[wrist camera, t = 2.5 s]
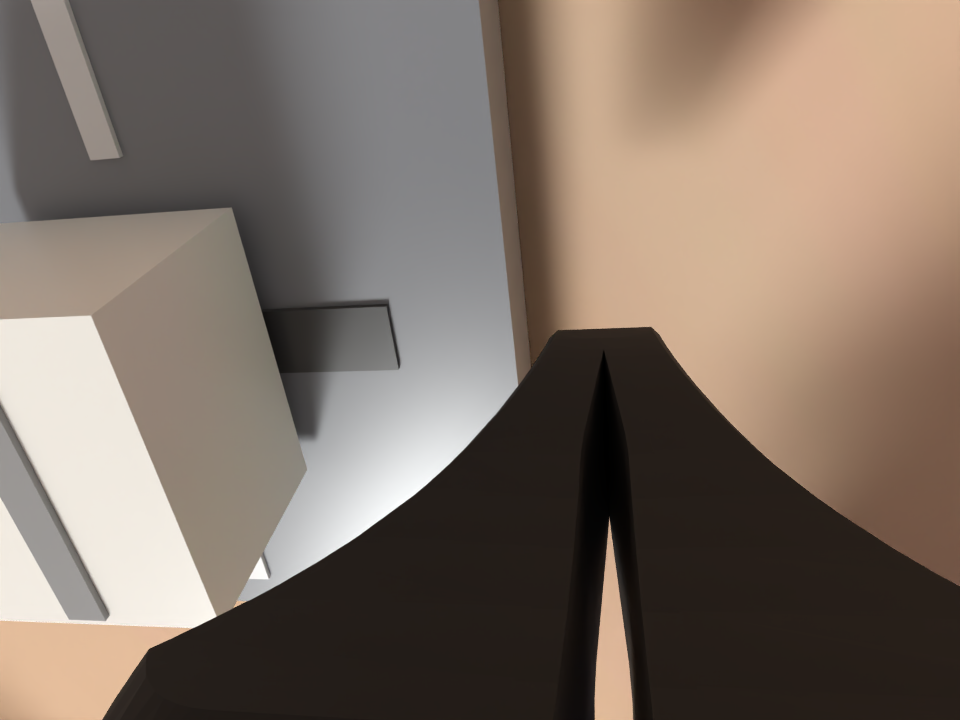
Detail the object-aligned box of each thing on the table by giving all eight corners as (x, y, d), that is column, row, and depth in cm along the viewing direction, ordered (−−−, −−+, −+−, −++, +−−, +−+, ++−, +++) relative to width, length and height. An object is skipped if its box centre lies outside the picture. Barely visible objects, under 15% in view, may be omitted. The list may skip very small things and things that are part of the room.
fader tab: (231, 207, 11) (85, 320, 8) (307, 469, 14) (218, 634, 10) (0, 223, 12) (-218, 332, 9) (112, 469, 14) (-26, 625, 11)
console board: (484, -138, 10) (461, -151, 9) (546, 541, 17) (540, 614, 15) (-553, 17, 14) (-723, 30, 12) (-176, 530, 20) (-251, 588, 19)
